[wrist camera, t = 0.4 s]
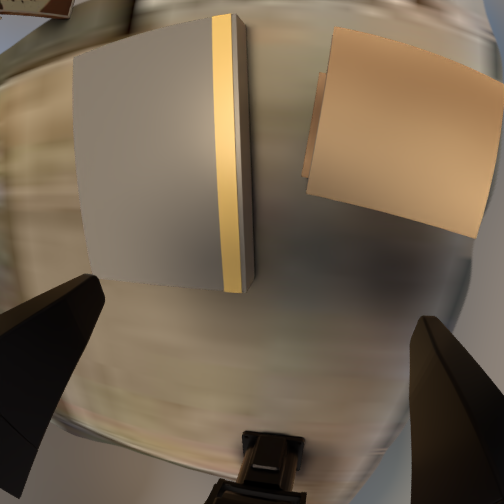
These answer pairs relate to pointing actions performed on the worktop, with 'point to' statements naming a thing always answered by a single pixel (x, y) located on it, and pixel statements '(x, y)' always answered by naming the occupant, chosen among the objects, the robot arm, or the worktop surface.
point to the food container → (38, 8)
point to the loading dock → (167, 156)
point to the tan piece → (404, 132)
